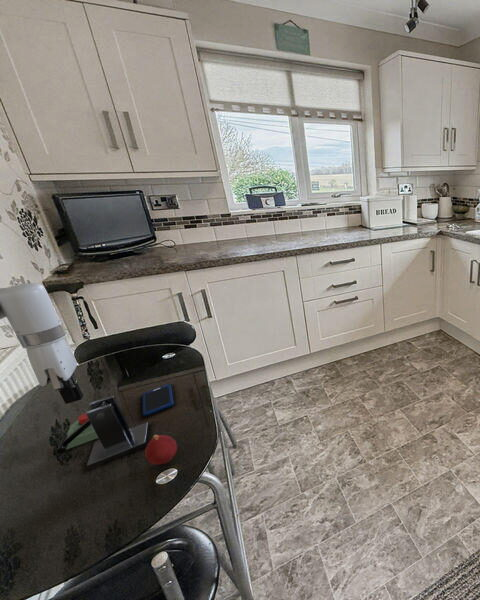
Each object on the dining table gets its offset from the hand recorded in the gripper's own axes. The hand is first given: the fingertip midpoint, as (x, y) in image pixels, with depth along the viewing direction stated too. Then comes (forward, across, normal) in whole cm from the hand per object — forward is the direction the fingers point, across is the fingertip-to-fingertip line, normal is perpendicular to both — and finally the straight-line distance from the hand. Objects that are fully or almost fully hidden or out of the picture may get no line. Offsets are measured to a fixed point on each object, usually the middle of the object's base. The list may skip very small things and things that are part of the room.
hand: (74, 400), depth 83 cm
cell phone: (+10, -5, +15) cm, 19 cm away
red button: (+7, 0, +1) cm, 7 cm away
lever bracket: (+10, +12, +8) cm, 18 cm away
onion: (+10, +26, +18) cm, 33 cm away
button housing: (+10, 0, +1) cm, 11 cm away
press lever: (+3, +12, +4) cm, 13 cm away
